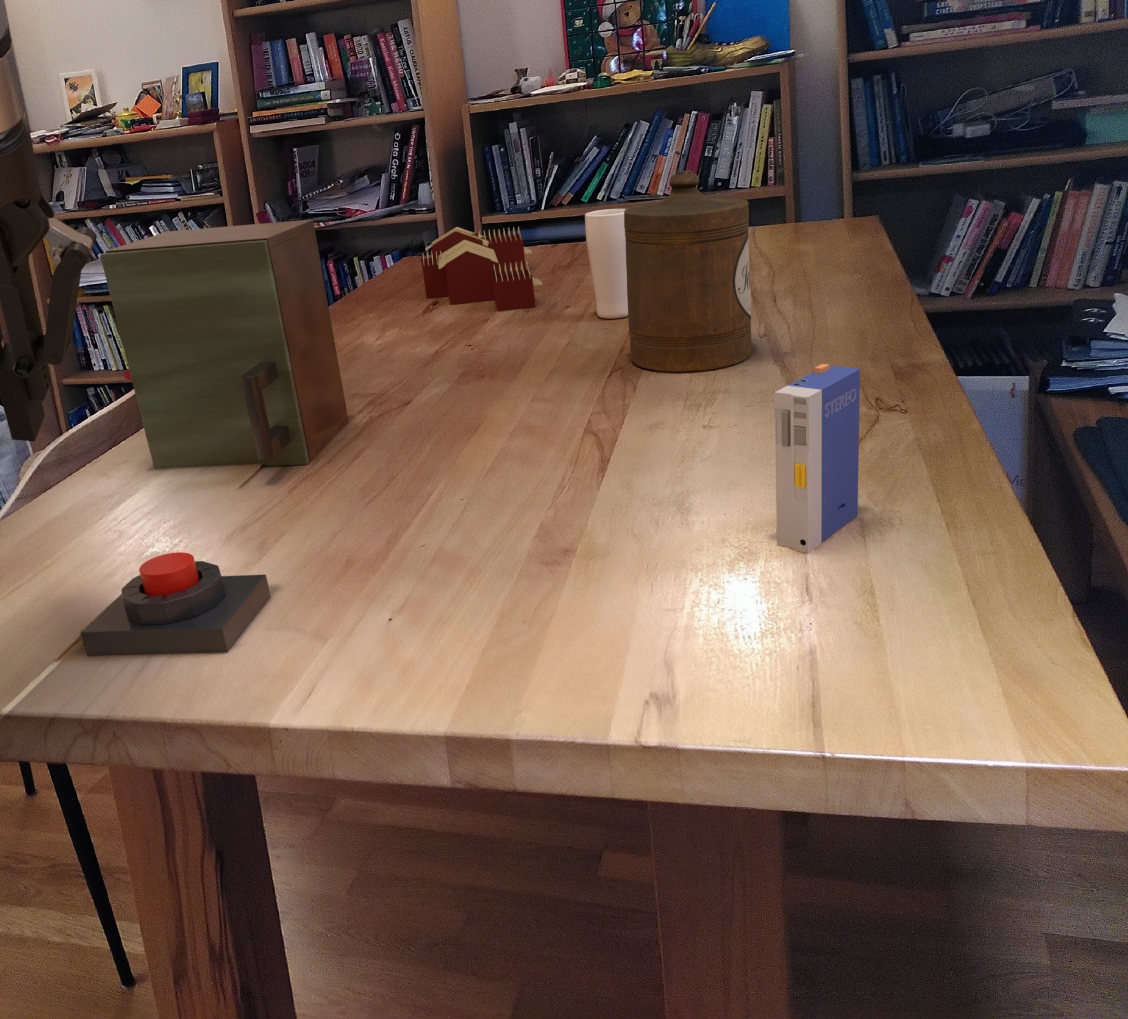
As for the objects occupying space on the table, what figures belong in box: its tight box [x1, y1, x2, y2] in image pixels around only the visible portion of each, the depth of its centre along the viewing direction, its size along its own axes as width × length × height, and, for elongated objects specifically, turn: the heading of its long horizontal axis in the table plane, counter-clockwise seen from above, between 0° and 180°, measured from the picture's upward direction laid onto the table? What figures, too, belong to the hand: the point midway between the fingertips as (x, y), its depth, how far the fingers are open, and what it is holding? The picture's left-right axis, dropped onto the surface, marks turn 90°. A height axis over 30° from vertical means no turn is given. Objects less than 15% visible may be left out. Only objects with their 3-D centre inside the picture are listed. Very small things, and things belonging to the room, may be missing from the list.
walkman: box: [774, 363, 861, 554], centre depth 76 cm, size 8×3×12 cm, turn 139°
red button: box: [138, 551, 199, 596], centre depth 72 cm, size 4×4×2 cm
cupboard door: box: [99, 240, 311, 470], centre depth 98 cm, size 6×16×22 cm, turn 84°
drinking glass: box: [584, 208, 628, 320], centre depth 152 cm, size 7×7×15 cm
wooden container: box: [624, 170, 752, 373], centre depth 125 cm, size 15×15×22 cm
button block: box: [79, 560, 272, 657], centre depth 72 cm, size 10×8×4 cm
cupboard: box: [104, 219, 350, 463], centre depth 107 cm, size 13×16×22 cm
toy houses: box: [420, 226, 544, 312], centre depth 184 cm, size 45×20×10 cm, turn 6°
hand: (28, 427), depth 74 cm, fingers closed
